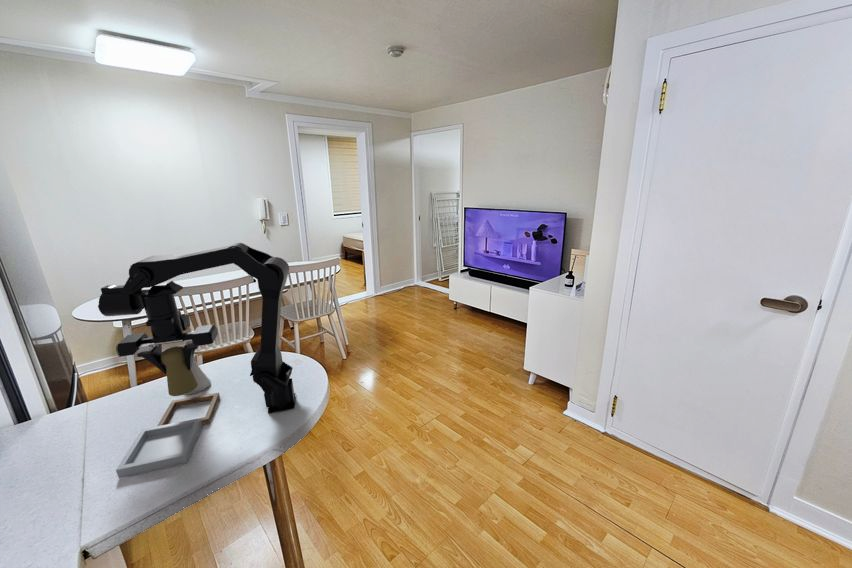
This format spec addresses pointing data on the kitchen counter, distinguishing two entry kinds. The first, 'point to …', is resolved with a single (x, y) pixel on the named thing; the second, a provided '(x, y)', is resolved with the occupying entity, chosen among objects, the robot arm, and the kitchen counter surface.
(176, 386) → the cork
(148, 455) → the tray
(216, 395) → the wooden picture frame
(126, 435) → the kitchen counter surface
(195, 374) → the flask
